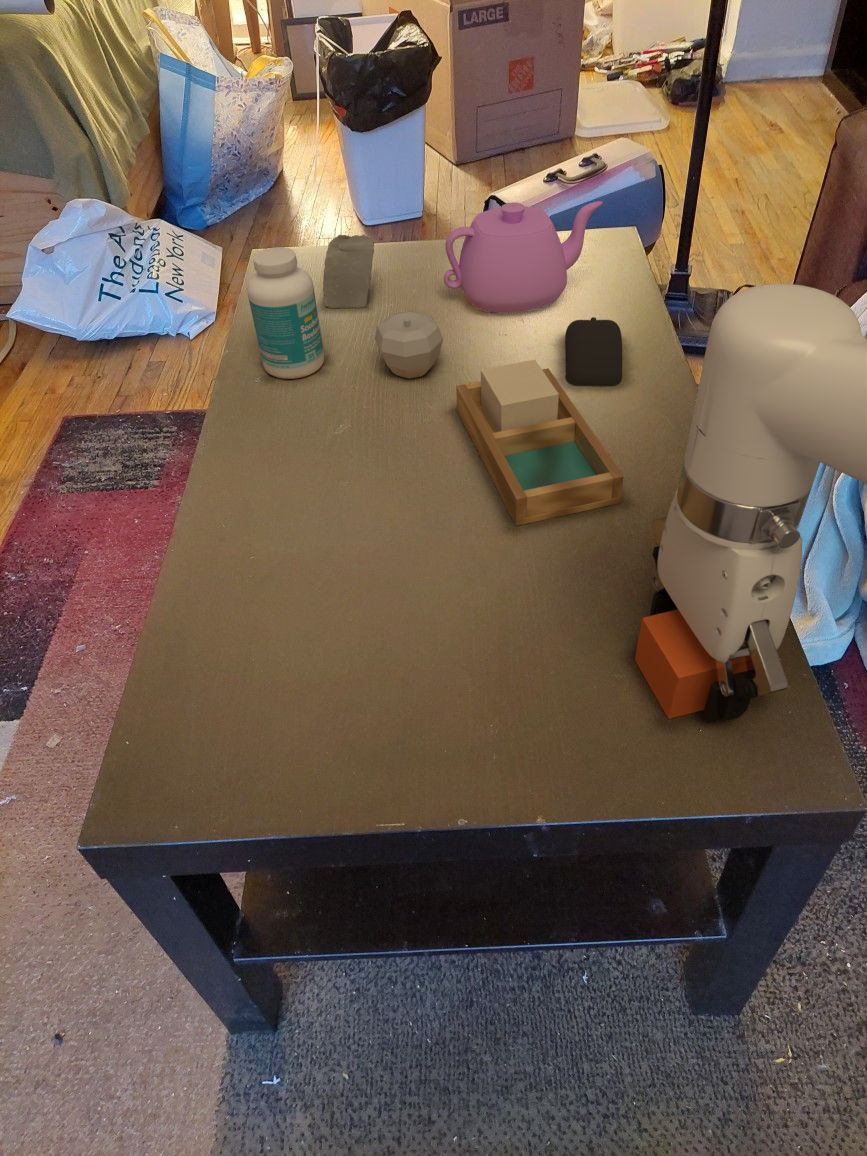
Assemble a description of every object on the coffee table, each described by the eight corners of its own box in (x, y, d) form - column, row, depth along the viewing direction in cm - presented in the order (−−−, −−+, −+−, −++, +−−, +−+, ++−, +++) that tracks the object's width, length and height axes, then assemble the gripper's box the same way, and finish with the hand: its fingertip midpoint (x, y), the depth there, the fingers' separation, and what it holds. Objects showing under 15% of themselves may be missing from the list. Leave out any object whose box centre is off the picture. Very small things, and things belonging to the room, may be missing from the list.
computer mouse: (617, 335, 102) (620, 304, 99) (622, 386, 94) (626, 354, 91) (564, 335, 103) (566, 304, 100) (565, 385, 95) (567, 354, 92)
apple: (364, 369, 100) (357, 318, 95) (416, 346, 103) (412, 295, 98) (405, 397, 95) (400, 344, 90) (458, 371, 98) (456, 319, 94)
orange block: (715, 639, 68) (727, 596, 64) (753, 697, 63) (769, 654, 60) (634, 659, 66) (641, 617, 63) (668, 719, 62) (678, 677, 59)
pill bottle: (321, 380, 98) (303, 269, 89) (259, 383, 99) (234, 272, 89) (328, 348, 104) (311, 239, 94) (269, 350, 104) (246, 242, 94)
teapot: (451, 328, 105) (448, 235, 97) (438, 281, 115) (434, 192, 106) (608, 311, 106) (617, 218, 98) (582, 265, 116) (589, 176, 107)
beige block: (533, 399, 92) (535, 359, 88) (556, 435, 87) (559, 393, 83) (481, 410, 91) (480, 369, 87) (501, 446, 86) (501, 405, 82)
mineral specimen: (391, 300, 110) (372, 243, 104) (329, 319, 111) (306, 263, 105) (389, 273, 115) (370, 217, 109) (329, 291, 116) (308, 237, 110)
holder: (547, 393, 94) (548, 367, 91) (620, 503, 80) (624, 476, 78) (457, 411, 92) (455, 385, 90) (515, 526, 78) (516, 499, 76)
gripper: (883, 572, 46) (801, 748, 59) (727, 405, 58) (686, 580, 71) (760, 602, 45) (703, 775, 58) (626, 425, 57) (603, 600, 70)
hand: (694, 667), depth 64 cm, fingers open, 8 cm apart
